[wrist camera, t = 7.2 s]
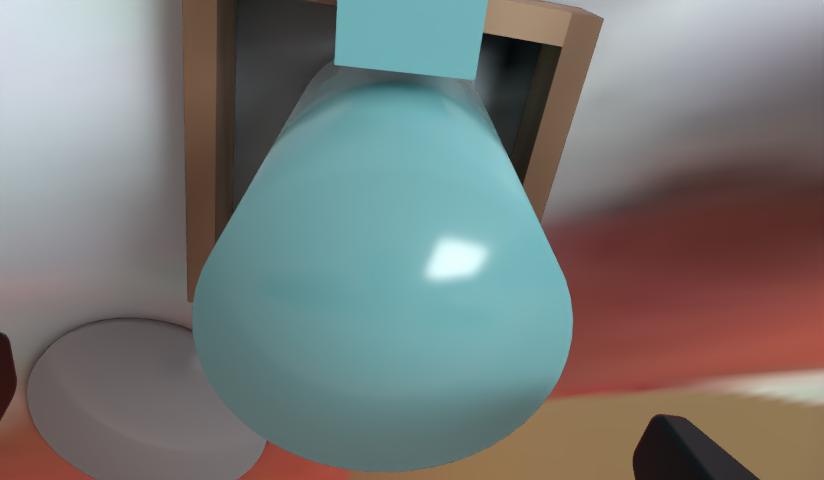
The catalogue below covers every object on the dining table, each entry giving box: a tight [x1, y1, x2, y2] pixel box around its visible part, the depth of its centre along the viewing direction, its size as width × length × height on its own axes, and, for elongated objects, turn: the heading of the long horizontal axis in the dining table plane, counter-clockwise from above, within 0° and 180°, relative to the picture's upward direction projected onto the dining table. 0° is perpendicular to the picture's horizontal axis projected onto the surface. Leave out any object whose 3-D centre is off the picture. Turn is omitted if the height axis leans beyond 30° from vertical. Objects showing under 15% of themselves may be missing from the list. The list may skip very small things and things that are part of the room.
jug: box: [192, 0, 573, 472], centre depth 12 cm, size 12×6×10 cm, turn 174°
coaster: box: [27, 318, 267, 480], centre depth 22 cm, size 9×9×1 cm
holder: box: [182, 0, 604, 302], centre depth 17 cm, size 10×10×2 cm
